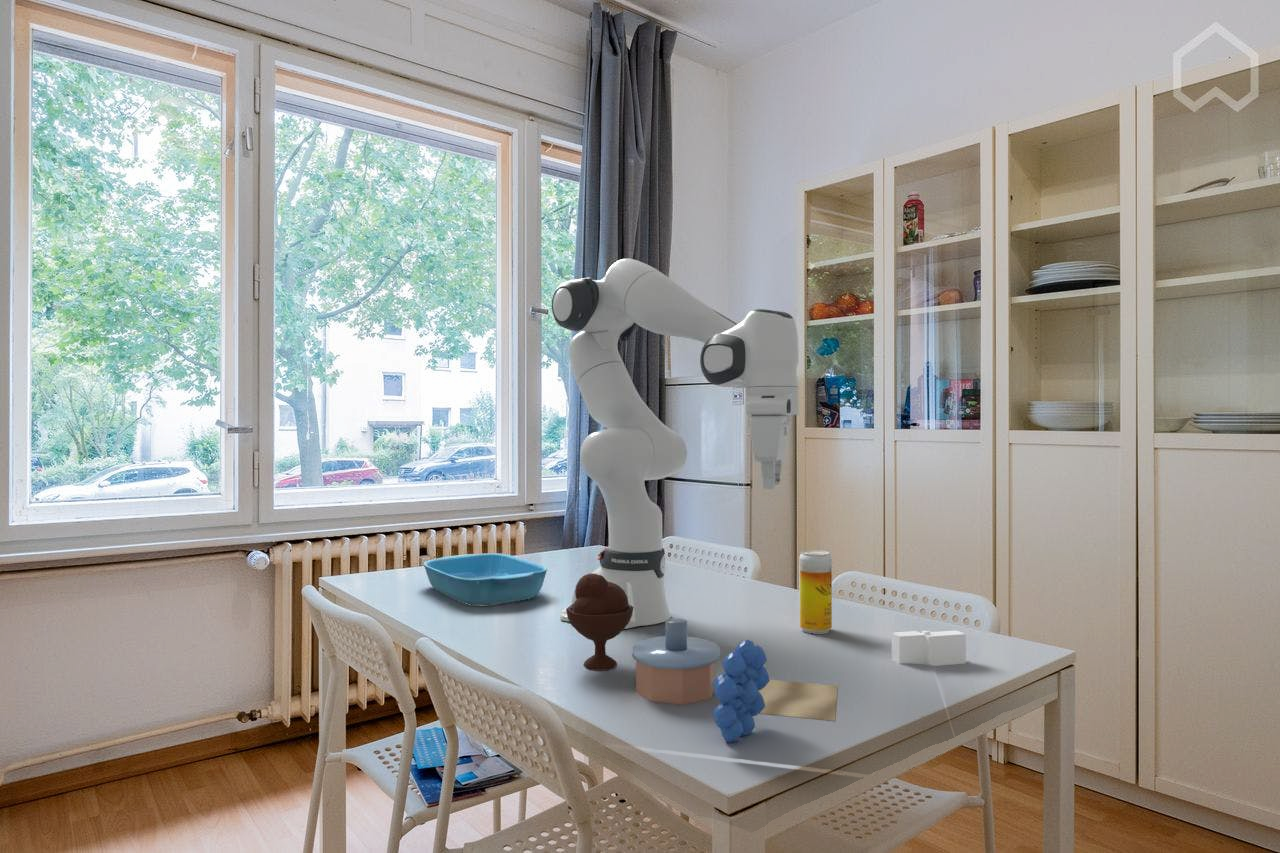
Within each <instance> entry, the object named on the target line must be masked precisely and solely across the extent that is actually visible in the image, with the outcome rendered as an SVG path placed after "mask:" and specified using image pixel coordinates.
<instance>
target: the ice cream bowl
mask: <svg viewBox="0 0 1280 853" xmlns="http://www.w3.org/2000/svg"><path fill="white" fill-rule="evenodd" d="M574 590H575V595H576V599H577V600H576V601H575V602H574V604H572V603H571V604H572V605H571V604H570V605H571V606H570V605H568V606H569V607H568V606H567V607H568V608H567V609H566V611H567V616H568V619H569V621H570V622H569V621H568V622H569V623H570V626H572V627H573V628H574V629H575V631H577V633H579V634H580V635H581V636H583V637H584V638H586V640H590V641H592V642H593V643H594V654H593V655H591V656H590V657H588V658H586V660H585V661H584V662H583V664H582V665H583V667H585V669H587V670H591V671H592V670H593V671H607V670H612V669H614V668H616V667H617V665H618V663H617V661H616V660H615V659H614V658H613V657H611V656H609V655H607V653H606V644H607V642H608V641H610V640H612V639H614V638H615V637H617V636H618V635H620V634H621V632H622V631H623V630H624V628H625V627H626V626H627V624H628V623H629V621H630V619H631V617H632V613H633V606H631V605H629V604H628V598H627V595H626V593H625V591H624V590H623V589H622V588H621V587H620V586H619V585H617V584H614V583H612V582H607V580H606V579H605V578H604V577H603V576H602V575H598V574H593V573H592V572H591V573H587V574H584V575H582V577H580V578H579V580H578V581H577V583H576V585H575V588H574Z"/></svg>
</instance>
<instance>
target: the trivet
mask: <svg viewBox="0 0 1280 853" xmlns="http://www.w3.org/2000/svg"><path fill="white" fill-rule="evenodd" d="M838 687H839V686H838V685H832V684H821V683H811V682H798V681H790V680H776V679H770V681H769V682H768V684H767V685H766V686H765V687H764V688H763V689H761V690H758V691H759V692H760V693H761V695H762V697H763V699H764V703H765V707H764V709H763V710H762V711H761V712H760V713H759V714H760V715H768V716H770V715H771V716H776V717H777V716H779V717H787V718H788V717H789V718H800V719H808V720H816V721H817V720H818V721H828V722H836V714H837V701H838V689H839V688H838ZM759 714H758V715H759Z"/></svg>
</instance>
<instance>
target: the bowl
mask: <svg viewBox="0 0 1280 853" xmlns="http://www.w3.org/2000/svg"><path fill="white" fill-rule="evenodd" d="M716 663H717V662H715V663H713V664H710V665H707V666H703V667H698V668H690V669H666V668H658V667H652V666H648V665H645V664H642V663H640V662H638V661H636V660H635V678H636V679H635V685H636V686H635V689H636V690H635V691H636V693H638V694H639V695H641V696H643V697H644V698H646V700H649V701H650V702H654V703H664V704H665V703H666V704H671V705H672V704H674V705H688V704H692V703H697V702H702V701H705V700H707V701H708V700H711V697H712V695H713V693H715V692H714V688H713V682H714V681H715V679H716V678H717V677H716V676H717V675H716V672H717V671H716V670H717V669H716V666H717V664H716Z"/></svg>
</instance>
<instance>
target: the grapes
mask: <svg viewBox="0 0 1280 853" xmlns="http://www.w3.org/2000/svg"><path fill="white" fill-rule="evenodd" d="M766 655H767V654H766V652H765V650H764V649H763V647H761V646H759V645H755V643H754V642H753V641H751V640H750V639H745V640H744V639H743V640H742V641H741V642H739V643H738V645H737V646H736V647H735V649H734V651H732V652H730V653H729V654H728V655H727V656H726V657H725V658H724V659H723V661H722V667H723V671H724V672H723V673H721V674H719V675H717V677H716V679H715V681H714V682H713V688H714V692H713V693H714V696H715V697H716V699H717V701H718V702H719V704H718V705H717V706H716V707H715V709H714V710H713V711H712V717H713V721H714V723H715V725H716V726H717V728H719V729H720V732H721V736H722V737H723V739H724V741H725V742H727V743H729V744H730V743H734V742H736V741H737V740H738V739H739V738H740V737H744V736H749V735H750V734H751V733H752V731H753V730H754V729H755V727H756V726H755V725H756V724H755V719H754V717H757V716H758V715H759V713H760V712H761V711H762V710H763V709H764V707H765V703H764V699H763V697H762V695H761V693H760V692H759V691H758V690H761V689H763V688H764V687H765V686H766V685H767V684H768V682H769V681H770V680H771V679H770V677H769V673H768V670H767V669H766V668H765V667H764V665H765V664H766V662H767V661H768V659H767V656H766Z"/></svg>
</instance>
